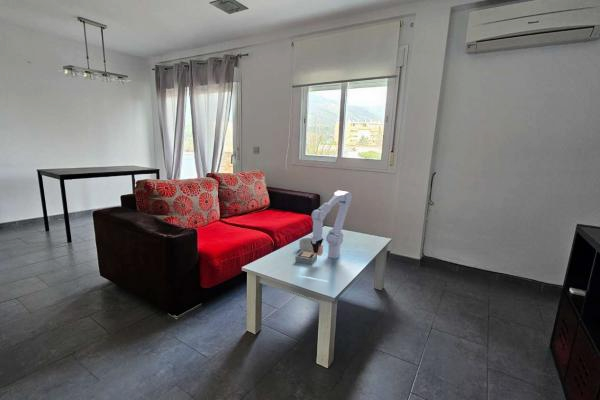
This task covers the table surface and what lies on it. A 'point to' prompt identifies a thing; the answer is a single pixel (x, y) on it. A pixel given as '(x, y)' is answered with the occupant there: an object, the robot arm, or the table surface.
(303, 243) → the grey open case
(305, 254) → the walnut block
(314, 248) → the robot arm
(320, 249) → the coral box
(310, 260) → the tote
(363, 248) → the table surface
